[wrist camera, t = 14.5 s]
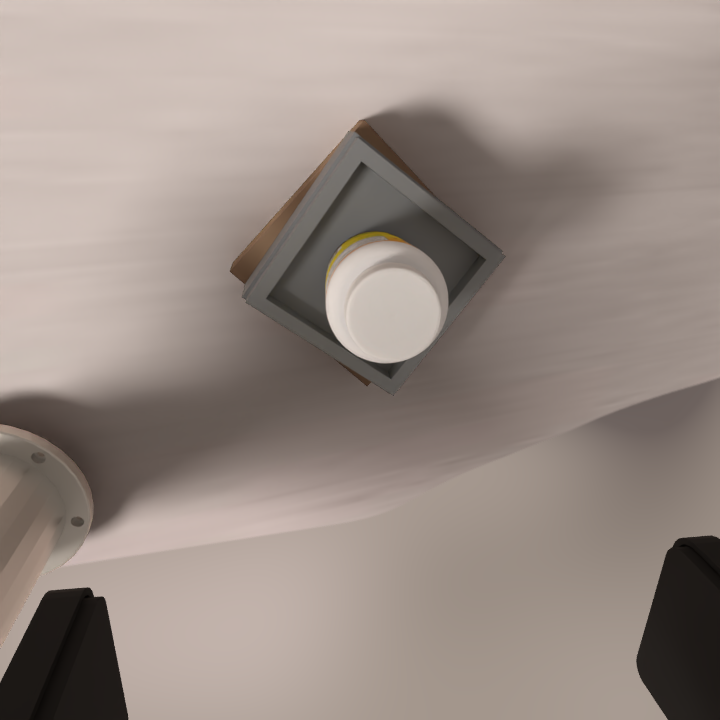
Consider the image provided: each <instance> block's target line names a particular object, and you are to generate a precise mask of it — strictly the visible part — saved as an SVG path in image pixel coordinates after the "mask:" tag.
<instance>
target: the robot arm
mask: <svg viewBox="0 0 720 720" xmlns="http://www.w3.org/2000/svg"><path fill="white" fill-rule="evenodd" d="M93 510H94V503H93V498H92V493H91V489H90V487H89V485H88V483H87V480H86V478H85V476H84V475H83V473H82V472H81V470H80V469H79V468H78V466H77V465H76V464H75V462H74V461H73V460H72V459H70V458H69V457H68V456H67V455H66V454H65V453H64V452H63V451H62V450H61V449H59V448H58V447H56V446H55V445H53V444H52V443H50V442H49V441H47V440H46V439H43V438H41V437H39V436H37V435H35V434H33V433H31V432H29V431H25V430H22V429H19V428H16V427H12V426H8V425H2V424H0V649H1V647H2V645H3V643H4V641H5V639H6V637H7V636H8V634H9V632H10V630H11V628H12V626H13V624H14V622H15V621H16V619H17V617H18V615H19V613H20V611H21V610H22V607H23V606H24V604H25V602H26V600H27V598H28V597H29V595H30V593H31V591H32V589H33V587H34V585H35V584H36V582H37V580H38V578H39V576H42V575H45V574H48V573H50V572H52V571H53V570H55V569H57V568H59V567H61V566H62V565H64V564H65V563H66V562H67V561H68V560H70V559H71V558H72V557H73V556H74V555H75V554H76V552H77V551H78V550H79V548H80V547H81V546H82V544H83V542H84V540H85V538H86V536H87V534H88V532H89V530H90V527H91V523H92V520H93ZM636 662H637V668H638V672H639V675H640V678H641V679H642V681H643V683H644V684H645V686H646V687H647V689H648V690H649V692H650V693H651V695H652V696H653V698H654V699H655V701H656V702H657V704H658V705H659V707H660V708H661V710H662V711H663V713H664V714H665V716H666V717H667V719H668V720H720V539H719V538H717V537H714V536H700V537H688V538H680V539H678V540H677V541H675V543H674V545H673V547H672V548H671V549H669V550H668V551H667V554H666V557H665V560H664V564H663V567H662V571H661V574H660V578H659V581H658V585H657V589H656V592H655V595H654V599H653V602H652V606H651V609H650V613H649V616H648V620H647V623H646V627H645V630H644V634H643V637H642V641H641V644H640V648H639V651H638V655H637V661H636ZM0 720H128V713H127V708H126V703H125V698H124V692H123V688H122V682H121V677H120V672H119V667H118V661H117V657H116V651H115V646H114V641H113V636H112V631H111V626H110V620H109V615H108V610H107V605H106V601H105V598H104V597H94V595H93V592H92V590H91V589H90V588H75V589H63V590H51V591H48V592H47V593H46V594H45V595H44V597H43V598H42V600H41V602H40V604H39V606H38V608H37V610H36V612H35V614H34V616H33V618H32V620H31V622H30V624H29V626H28V628H27V630H26V632H25V634H24V636H23V638H22V640H21V642H20V644H19V646H18V648H17V650H16V652H15V654H14V656H13V658H12V660H11V662H10V664H9V666H8V668H7V670H6V672H5V674H4V676H3V678H2V680H1V682H0Z"/></svg>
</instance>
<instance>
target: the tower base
mask: <svg viewBox="0 0 720 720" xmlns="http://www.w3.org/2000/svg"><path fill="white" fill-rule="evenodd" d="M350 131H353V132H356V133H357V134H358V135H359V136H361V137H362V138H363V139H364V140H366V141H367V142H368V143H369V144H371V145H372V146H373V147H374V148H376V149H377V150H378V151H379V152H380V153H382V154H383V155H384V156H385V157H387V158H388V159H389V160H390V161H392V162H393V163H394V164H395V165H397V166H398V167H399V168H400V169H402V170H403V171H404V172H405V173H407V174H408V175H409V176H410V177H411V178H413V179H414V180H415V181H416V182H418V183H419V184H420V185H421V186H423V187H424V188H425V189H426V190H428V191H429V192H430V193H431V194H433V193H432V192H431V191H430V190H429V189H428V188H427V187H426V186H425V185H424V183H423V182H422V181H421V180H420V179H419V178H418V177H417V176H416V175H415V174H414V173H413V172H412V171H411V170H410V168H409V167H408V166H407V165H406V164H405V163H404V162H403V161H402V160H401V159H400V158H399V157H398V156H397V155H396V153H395V152H394V151H393V150H392V149H391V148H390V147H389V146H388V145H387V144H386V143H385V142H384V141H383V139H382V138H381V137H380V136H379V135H378V134H377V133H376V132H375V131H374V130H373V129H372V128H371V127H370V126H369V124H368V123H367V122H366V121H365V120H359V121H358V123H357V124H356V125H355V126H354V127H353V128H352V129H351V130H350ZM343 139H344V138H343ZM343 139H342V140H343ZM341 142H342V141H341ZM341 142H340V143H341ZM340 143H339V144H338V145H337V146H336V147H335V148H334V150H333V151H332V152H331V153H330V154H329V155H328V156H327V157H326V159H325V160H324V161H323V162H322V163H321V164H320V165H319V166H318V168H317V169H316V170H315V171H314V172H313V173H312V174H311V175H310V177H309V178H308V179H307V180H306V181H305V182H304V183H303V184H302V186H301V187H300V188H299V189H298V190H297V191H296V192H295V193H294V195H293V196H292V197H291V198H290V199H289V200H288V201H287V202H286V204H285V205H284V206H283V207H282V208H281V209H280V210H279V211H278V213H277V214H276V215H275V216H274V217H273V218H272V219H271V220H270V222H269V223H268V224H267V225H266V226H265V227H264V228H263V229H262V231H261V232H260V233H259V234H258V235H257V236H256V237H255V238H254V240H253V241H252V242H251V243H250V244H249V245H248V246H247V247H246V249H245V250H244V251H243V252H242V253H241V254H240V255H239V256H238V258H237V259H236V260H235V261H234V262H233V264H232V267H231V270H230V272H231V273H232V274H233V275H235V276H236V277H237V278H238V279H239V280H241V281H242V282H243V283H244V284H245V283H246V282H247V280H248V279H249V277H250V276H251V274H252V273H253V271H254V270H255V268H256V267H257V265H258V264H259V263H260V261H261V260H262V258H263V257H264V255H265V254H266V252H267V251H268V249H269V248H270V246H271V245H272V243H273V242H274V240H275V239H276V237H277V236H278V235H279V233H280V232H281V230H282V229H283V227H284V226H285V224H286V223H287V221H288V220H289V218H290V217H291V215H292V214H293V212H294V211H295V209H296V208H297V206H298V205H299V204H300V202H301V201H302V199H303V198H304V196H305V195H306V193H307V192H308V190H309V189H310V187H311V186H312V184H313V183H314V181H315V180H316V178H317V177H318V176H319V174H320V173H321V171H322V170H323V168H324V167H325V165H326V164H327V162H328V161H329V159H330V158H331V156H332V155H333V153H334V152H335V150H336V149H337V148H338V146H339V145H340ZM433 195H434V194H433ZM434 196H435V195H434ZM435 197H436V196H435ZM436 198H437V197H436ZM335 360H336V359H335ZM336 361H337V360H336ZM337 362H339V361H337ZM339 363H340V364H341V365H342V366H343V367H345V368H346V369H347V370H348V371H349V372H351V373H352V374H353V375H354V376H355V377H357V378H358V379H359V380H360V381H361V382H362V383H364V384H365V385H366V386H368V385H369V384H370V383H371V381H369V380H368V379H366V378H364V377H363V376H361V375H360V374H358V373H356V372H355V371H353V370H352V369H350V368H349V367H347V366H345V365H344V364H342V363H341V362H339Z"/></svg>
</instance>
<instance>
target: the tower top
mask: <svg viewBox="0 0 720 720" xmlns="http://www.w3.org/2000/svg"><path fill="white" fill-rule="evenodd" d="M368 231H381V232H387V233H390V234H393V235H395V236H397V237H399V238H401V239H402V240H404V241H406V242H407V243H409V244H411V245H413V246H414V247H416V248H418V249H419V250H421V251H422V252H424V253H425V254H426V255H427V256H428V257H430V258H431V259H432V260H433V262H434V263H435V264H436V265H437V266H438V268H439V270H440V271H441V273H442V275H443V277H444V280H445V282H446V286H447V290H448V312H447V316H446V320H445V323H444V325H443V328H442V330H441V331H440V333H439V335H438V336H437V337H436V339H435V340H434V341H433V342H432V343H431V345H430V346H429V347H428V348H426V349H425V350H424V351H422V352H421V353H419V354H418V355H416V356H414V357H412V358H410V359H407V360H404V361H400V362H395V363H377V362H372V361H368V360H365V359H363V358H360V357H358V356H356V355H355V354H353V353H352V352H350V351H349V350H348V349H346V348H345V347H344V346H343V345H342V344H341V343H340V341H339V340H338V339H337V337H336V336H335V334H334V333H333V331H332V329H331V326H330V324H329V321H328V318H327V313H326V301H325V299H326V297H325V296H326V295H325V282H326V272H327V267H328V264H329V261H330V259H331V257H332V255H333V254H334V252H335V251H336V250H337V248H338V247H339V246H340V245H341V244H342V243H344V242H345V241H346V240H347V239H349V238H351V237H352V236H355V235H357V234H360V233H363V232H368ZM502 252H503V251H502V250H501V249H499V248H498V247H497V246H496V245H495V244H493V243H492V242H491V241H490V240H488V239H487V238H486V237H485V236H483V235H482V234H481V233H480V232H478V231H477V230H476V229H475V228H473V227H472V226H471V225H470V224H468V223H467V222H466V221H465V220H464V219H462V218H461V217H460V216H459V215H457V214H456V213H455V212H454V211H452V210H451V209H450V208H449V207H447V206H446V205H445V204H444V203H442V202H441V201H440V200H439V199H438V198H436V197H435V196H434V195H433V194H431V193H430V192H429V191H428V190H426V189H425V188H424V187H423V186H421V185H420V184H419V183H418V182H416V181H415V180H414V179H413V178H411V177H410V176H409V175H408V174H407V173H405V172H404V171H403V170H402V169H400V168H399V167H398V166H397V165H395V164H394V163H393V162H392V161H390V160H389V159H388V158H387V157H385V156H384V155H383V154H382V153H380V152H379V151H378V150H377V149H376V148H374V147H373V146H372V145H371V144H369V143H368V142H367V141H366V140H364V139H363V138H362V137H361V136H359V135H358V134H357V133H356V132H353V131H348V133H347V134H346V136H345V137H344V139H343V140H342V142H341V143H340V145H339V146H338V148H337V149H336V150H335V152H334V153H333V155H332V156H331V158H330V159H329V161H328V162H327V164H326V165H325V167H324V168H323V170H322V171H321V173H320V174H319V176H318V177H317V178H316V180H315V181H314V183H313V184H312V186H311V187H310V189H309V190H308V192H307V193H306V195H305V196H304V198H303V199H302V201H301V202H300V204H299V205H298V206H297V208H296V209H295V211H294V212H293V214H292V215H291V217H290V218H289V220H288V221H287V223H286V224H285V226H284V227H283V229H282V230H281V232H280V233H279V235H278V236H277V237H276V239H275V240H274V242H273V243H272V245H271V246H270V248H269V249H268V251H267V252H266V254H265V255H264V257H263V258H262V260H261V261H260V263H259V264H258V265H257V267H256V268H255V270H254V271H253V273H252V274H251V276H250V277H249V279H248V280H247V282H246V283H245V286H244V291H243V295H242V298H244V299H246V303H247V304H249V305H251V306H252V307H254V308H255V309H257V310H258V311H260V312H262V313H263V314H265V315H266V316H268V317H270V318H271V319H273V320H274V321H276V322H277V323H279V324H281V325H282V326H284V327H285V328H287V329H288V330H290V331H292V332H293V333H295V334H296V335H298V336H300V337H301V338H303V339H304V340H306V341H307V342H309V343H311V344H312V345H314V346H315V347H317V348H319V349H320V350H322V351H323V352H325V353H326V354H328V355H330V356H331V357H333V358H334V359H336V360H337V361H339V362H341V363H342V364H344V365H345V366H347V367H349V368H350V369H352V370H353V371H355V372H356V373H358V374H360V375H361V376H363V377H364V378H366V379H368V380H369V381H371V382H372V383H374V384H375V385H377V386H379V387H380V388H382V389H383V390H385V391H386V392H388V393H390V394H391V395H393V396H394V394H395V393H396V392H397V391H398V389H399V388H400V387H401V386H402V384H403V383H404V382H405V381H406V379H407V378H408V377H409V376H410V374H411V373H412V372H413V371H414V370H415V368H416V367H417V366H418V365H419V363H420V362H421V361H422V360H423V358H424V357H425V356H426V355H427V353H428V352H429V351H430V350H431V348H432V347H433V346H434V345H435V343H436V342H437V341H438V340H439V339H440V337H441V336H442V335H443V334H444V332H445V331H446V330H447V329H448V327H449V326H450V325H451V324H452V322H453V321H454V320H455V319H456V317H457V316H458V315H459V314H460V312H461V311H462V310H463V309H464V308H465V306H466V305H467V304H468V303H469V301H470V300H471V299H472V298H473V296H474V295H475V294H476V293H477V291H478V290H479V289H480V288H481V286H482V285H483V284H484V283H485V281H486V280H487V279H488V278H489V277H490V275H491V274H492V273H493V272H494V270H495V269H496V268H497V267H498V265H499V264H500V263H501V262H502V260H503V259H504V258H505V257H506V256H505V255H503V254H502Z"/></svg>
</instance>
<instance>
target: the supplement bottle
mask: <svg viewBox="0 0 720 720" xmlns="http://www.w3.org/2000/svg"><path fill="white" fill-rule="evenodd" d="M325 295H326V296H325V297H326V299H325V301H326V313H327V318H328V321H329V324H330V326H331V329H332V331H333V333H334V334H335V336H336V337H337V339H338V340H339V341H340V343H341V344H342V345H343V346H344V347H345V348H346V349H348V350H349V351H350V352H352V353H353V354H355V355H356V356H358V357H360V358H363V359H365V360H368V361H372V362H377V363H395V362H400V361H404V360H407V359H410V358H412V357H414V356H416V355H418V354H419V353H421V352H422V351H424V350H425V349H426V348H428V347H429V346H430V345H431V343H432V342H433V341H434V340H435V339H436V337H437V336H438V335H439V333H440V331H441V330H442V328H443V325H444V323H445V320H446V316H447V312H448V290H447V286H446V282H445V280H444V277H443V275H442V273H441V271H440V270H439V268H438V266H437V265H436V264H435V263H434V262H433V260H432V259H431V258H430V257H428V256H427V255H426V254H425V253H424V252H422V251H421V250H419V249H418V248H416V247H414V246H413V245H411V244H409V243H407V242H406V241H404V240H402V239H401V238H399V237H397V236H395V235H393V234H390V233H387V232H381V231H368V232H363V233H360V234H357V235H355V236H352V237H351V238H349V239H347V240H346V241H345V242H344V243H342V244H341V245H340V246H339V247H338V248H337V250H336V251H335V252H334V254H333V255H332V257H331V259H330V261H329V264H328V267H327V272H326V282H325Z"/></svg>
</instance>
